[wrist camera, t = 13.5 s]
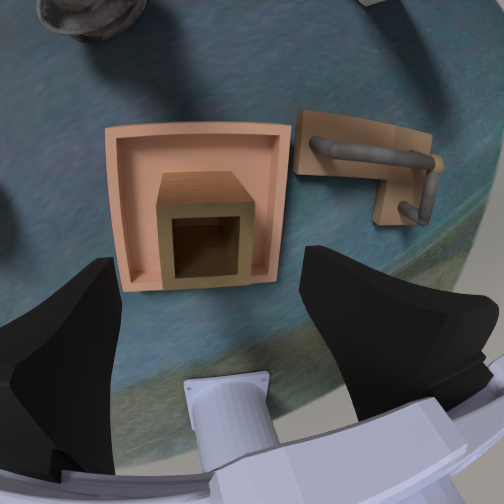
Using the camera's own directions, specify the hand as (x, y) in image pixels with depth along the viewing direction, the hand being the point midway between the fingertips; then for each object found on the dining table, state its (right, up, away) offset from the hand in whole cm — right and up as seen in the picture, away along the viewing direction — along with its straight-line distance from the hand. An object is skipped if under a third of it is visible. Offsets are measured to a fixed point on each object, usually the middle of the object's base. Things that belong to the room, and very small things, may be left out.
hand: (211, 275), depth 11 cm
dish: (-2, +4, +7) cm, 9 cm away
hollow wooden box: (-2, +4, +7) cm, 8 cm away
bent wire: (+9, +6, +9) cm, 14 cm away
